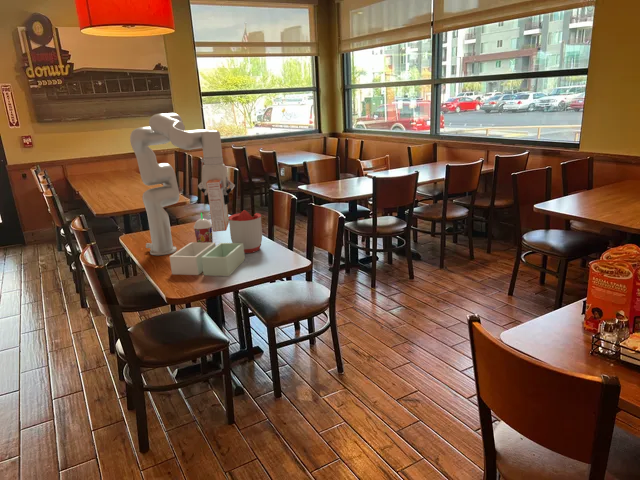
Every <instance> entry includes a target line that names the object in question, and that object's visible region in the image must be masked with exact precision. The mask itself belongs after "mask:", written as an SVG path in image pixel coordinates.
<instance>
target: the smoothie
mask: <svg viewBox="0 0 640 480" xmlns="http://www.w3.org/2000/svg"><path fill="white" fill-rule="evenodd" d="M193 230H194V233H195V240H196V242H202V243H214V242H213V241H214V240H213V229H212V222H211V221H210V220H208V219H207V218H204V217H203V212H200V218H199V219H197V220H196V221H195V223H194V225H193Z"/></svg>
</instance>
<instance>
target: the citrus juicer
mask: <svg viewBox="0 0 640 480" xmlns="http://www.w3.org/2000/svg"><path fill="white" fill-rule="evenodd" d="M228 217H229V224H228V226H229V233H230V240H231V243H243V245H244V254H253V253H255V252H258V251H260V249H261V246H262V241H263V229H262V228H263V227H262V225H263V224H262V214H261V213H259V212H256V213H254V214H253V216H252V215H251V214H250V213H249V212H248V211H247V210H245V209H244V210H242V211H241V212H240V213H234V214H231V215H230V216H229V215H228Z"/></svg>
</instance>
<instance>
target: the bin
mask: <svg viewBox="0 0 640 480" xmlns="http://www.w3.org/2000/svg"><path fill="white" fill-rule="evenodd" d="M245 260H246V256H245V253H244V245H243V243H232V242H219V243H218V244H217V245H216V247H214V248H213V249H212V250H210V251H209V252H208V253H206V254H205V255H204V256H202V265H203V271H202V272H203V276H217V277H218V276H219V277H221V276H222V277H229V276H230V275H231V274H232V273H234V271H236V269H237V268H238V267H240V265H241V264H243V262H244V261H245Z"/></svg>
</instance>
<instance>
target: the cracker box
mask: <svg viewBox="0 0 640 480" xmlns="http://www.w3.org/2000/svg"><path fill="white" fill-rule="evenodd" d="M206 184H207V192H208V199H209V205H208V206H209V211H210V220H211V221H210V223H211V224H212V233H215V232H224V231H225V232H226V231H227V229H228V226H229V211H228V209H229V208H228V204H226V205H225V203H224V192H223V189H222V183H221V180H208V181H207V182H206Z"/></svg>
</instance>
